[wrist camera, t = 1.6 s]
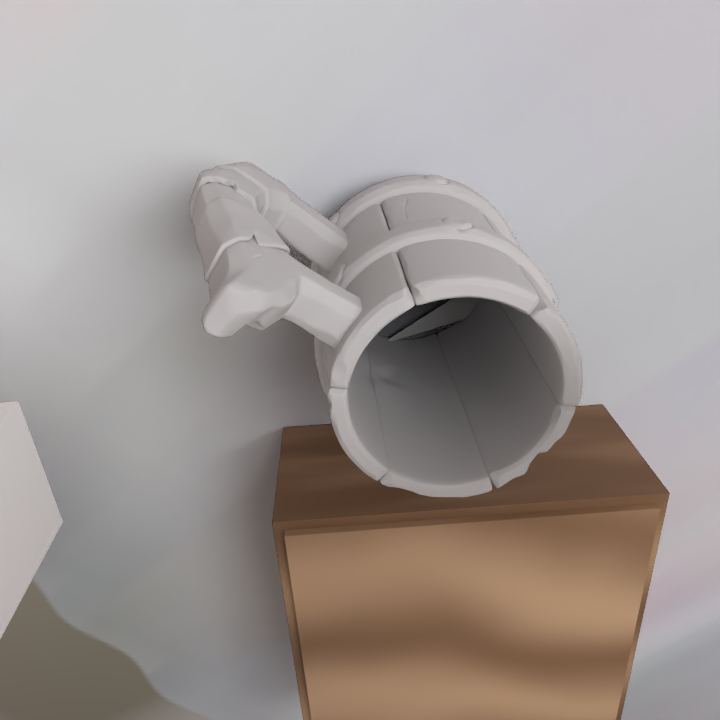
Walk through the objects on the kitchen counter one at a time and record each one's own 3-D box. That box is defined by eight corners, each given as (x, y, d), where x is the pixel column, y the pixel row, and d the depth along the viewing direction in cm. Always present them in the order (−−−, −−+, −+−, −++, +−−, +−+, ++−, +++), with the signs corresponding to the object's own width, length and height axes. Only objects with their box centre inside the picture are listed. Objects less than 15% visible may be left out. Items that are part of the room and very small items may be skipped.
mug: (432, 388, 26) (502, 621, 16) (176, 243, 23) (46, 415, 12) (549, 240, 24) (729, 400, 13) (278, 52, 20) (223, 61, 10)
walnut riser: (571, 625, 34) (619, 742, 28) (312, 645, 33) (309, 767, 28) (602, 404, 27) (673, 498, 22) (283, 427, 27) (271, 528, 21)
